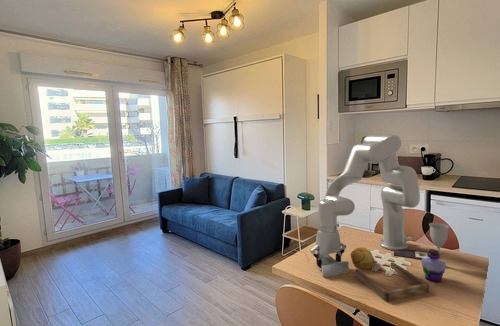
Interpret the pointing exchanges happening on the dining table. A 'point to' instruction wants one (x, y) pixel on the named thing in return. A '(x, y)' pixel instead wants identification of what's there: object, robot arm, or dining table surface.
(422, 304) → the dining table surface
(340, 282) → the dining table surface
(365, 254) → the bread roll
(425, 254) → the chocolate bar
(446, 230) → the chalice
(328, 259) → the grey t-shaped block
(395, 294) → the walnut frame
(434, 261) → the potion bottle
